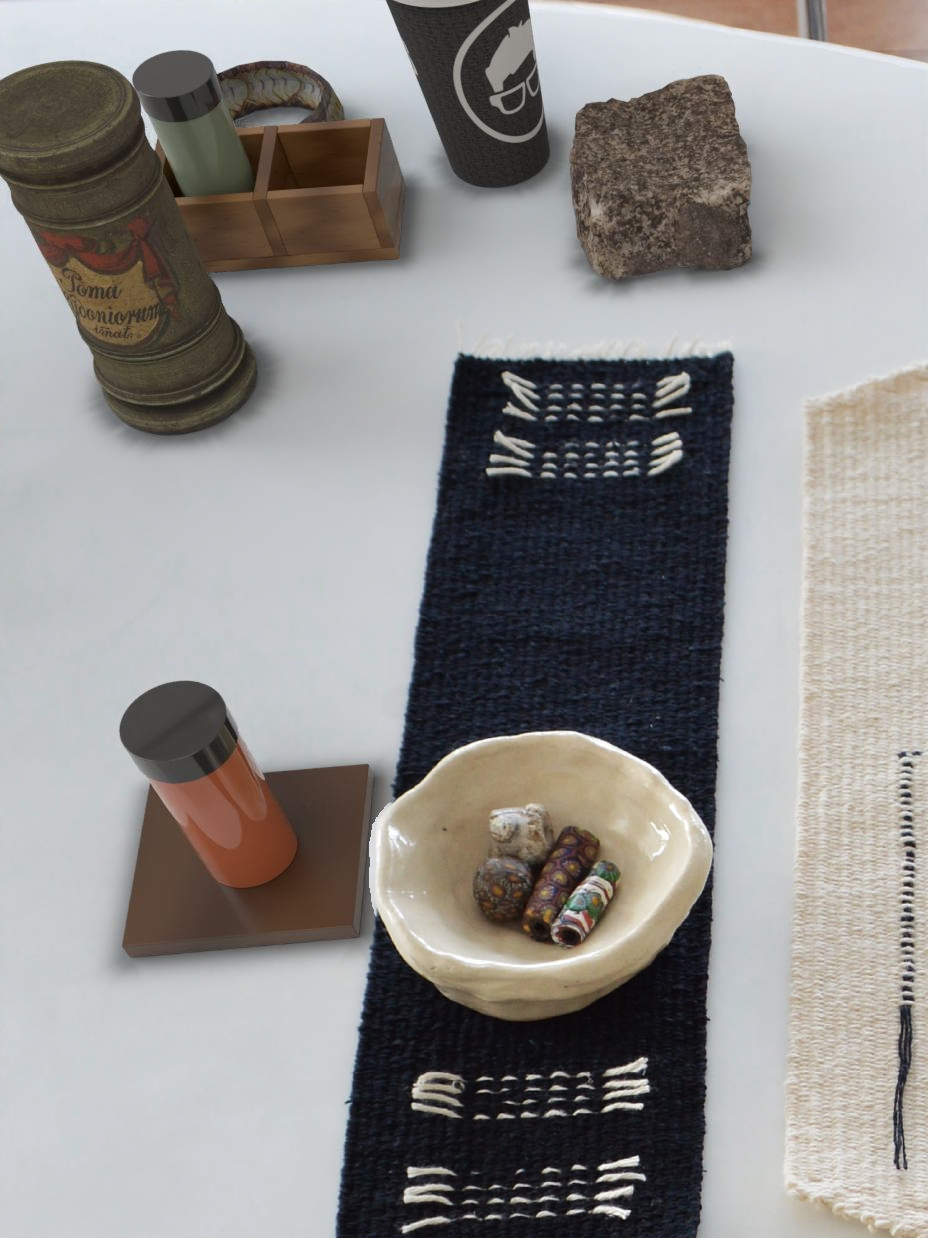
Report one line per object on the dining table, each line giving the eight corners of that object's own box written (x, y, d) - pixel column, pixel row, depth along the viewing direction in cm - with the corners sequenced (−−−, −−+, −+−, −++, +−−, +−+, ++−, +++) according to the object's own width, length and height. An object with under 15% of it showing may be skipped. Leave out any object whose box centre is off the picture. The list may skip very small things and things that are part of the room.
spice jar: (197, 894, 90) (111, 766, 82) (209, 817, 93) (126, 684, 84) (295, 885, 91) (219, 757, 82) (304, 808, 93) (231, 676, 84)
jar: (192, 249, 116) (126, 100, 108) (201, 201, 118) (137, 52, 110) (268, 243, 116) (208, 94, 108) (275, 196, 119) (217, 47, 110)
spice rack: (172, 275, 116) (141, 208, 112) (187, 201, 120) (157, 133, 116) (398, 258, 117) (375, 191, 112) (406, 185, 120) (384, 117, 116)
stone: (756, 182, 111) (764, 270, 116) (726, 61, 118) (735, 148, 123) (570, 201, 110) (586, 289, 115) (551, 77, 117) (566, 165, 122)
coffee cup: (557, 100, 125) (504, -131, 112) (586, 184, 120) (535, -47, 107) (416, 129, 123) (345, -102, 111) (440, 216, 119) (369, -15, 106)
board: (129, 957, 90) (120, 946, 89) (157, 793, 95) (149, 781, 94) (359, 937, 90) (352, 926, 89) (374, 775, 95) (368, 763, 94)
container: (130, 333, 113) (-10, 52, 98) (276, 335, 113) (158, 54, 98) (88, 436, 109) (-66, 158, 93) (240, 438, 108) (111, 160, 93)
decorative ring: (361, 174, 121) (341, 87, 126) (345, 128, 118) (325, 41, 123) (203, 206, 120) (189, 116, 124) (183, 160, 117) (170, 70, 122)
